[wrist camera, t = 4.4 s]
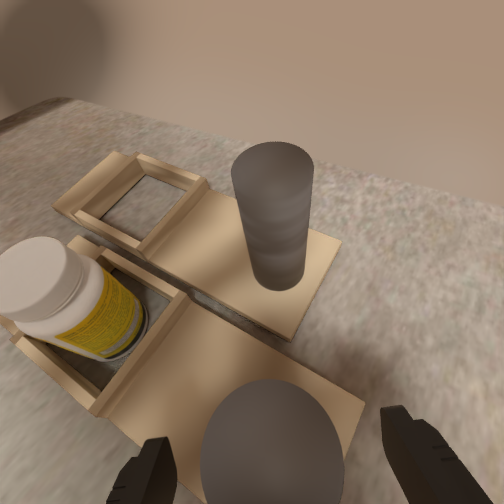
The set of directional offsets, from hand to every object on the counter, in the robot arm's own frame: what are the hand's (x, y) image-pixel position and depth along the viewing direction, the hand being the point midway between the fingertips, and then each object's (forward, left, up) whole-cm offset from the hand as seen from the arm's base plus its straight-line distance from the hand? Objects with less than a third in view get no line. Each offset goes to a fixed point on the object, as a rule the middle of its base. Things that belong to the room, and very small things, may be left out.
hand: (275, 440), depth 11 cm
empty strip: (-14, +9, -6) cm, 17 cm away
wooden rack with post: (-9, 0, -6) cm, 11 cm away
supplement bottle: (-13, 0, -6) cm, 14 cm away
